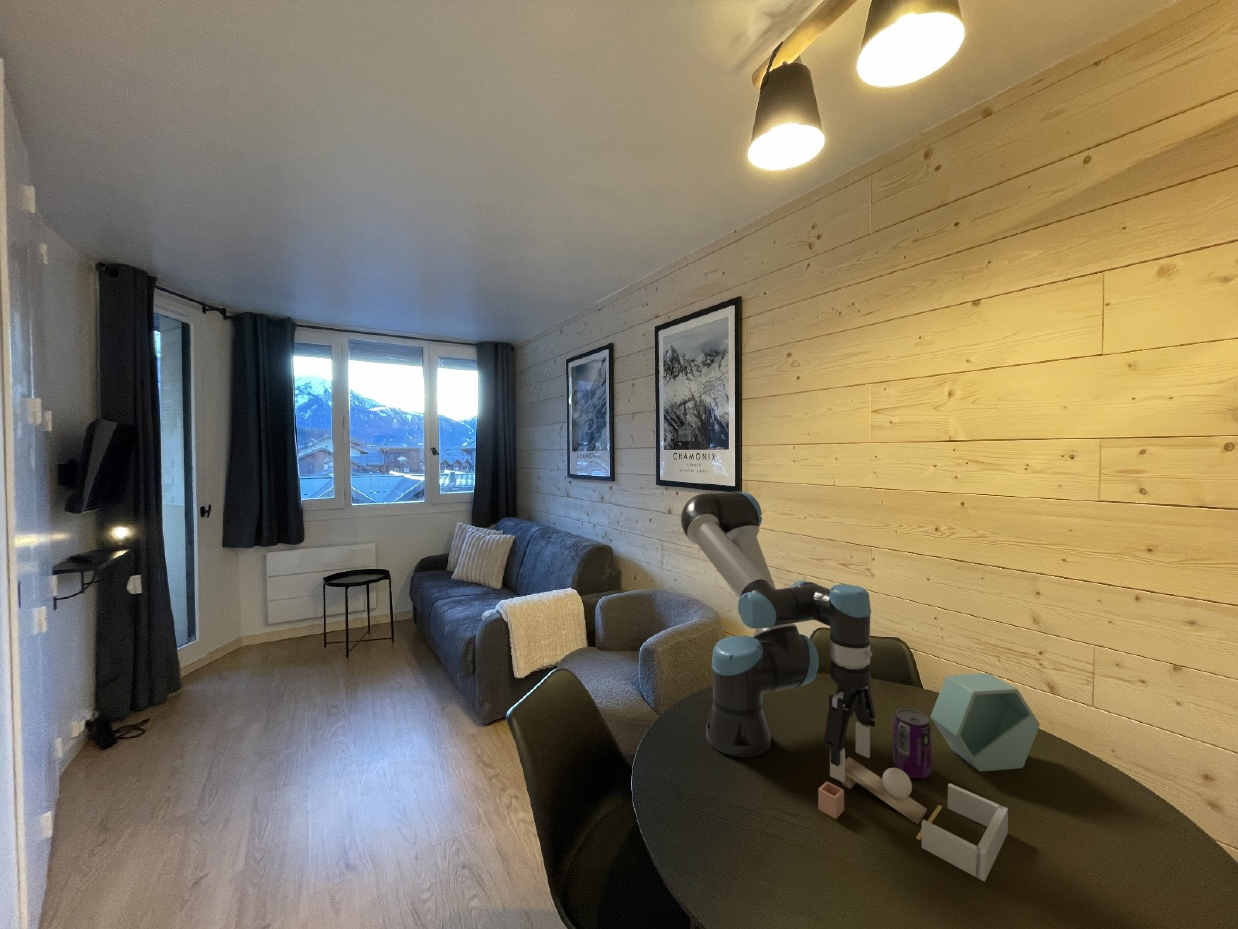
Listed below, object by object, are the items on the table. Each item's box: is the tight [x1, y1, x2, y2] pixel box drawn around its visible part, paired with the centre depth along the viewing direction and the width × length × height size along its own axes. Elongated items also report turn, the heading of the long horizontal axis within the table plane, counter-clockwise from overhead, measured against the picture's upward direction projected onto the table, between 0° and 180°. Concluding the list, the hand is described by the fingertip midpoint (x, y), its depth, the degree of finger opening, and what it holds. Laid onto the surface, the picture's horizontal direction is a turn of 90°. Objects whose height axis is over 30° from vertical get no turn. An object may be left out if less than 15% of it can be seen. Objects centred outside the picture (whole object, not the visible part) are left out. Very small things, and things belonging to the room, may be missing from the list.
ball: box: [881, 767, 913, 798], centre depth 95 cm, size 5×5×5 cm
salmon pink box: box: [817, 780, 845, 820], centre depth 94 cm, size 3×3×4 cm
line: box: [915, 804, 943, 841], centre depth 90 cm, size 1×12×1 cm, turn 130°
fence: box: [921, 783, 1009, 882], centre depth 86 cm, size 9×15×4 cm, turn 130°
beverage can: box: [892, 708, 933, 779], centre depth 105 cm, size 7×7×12 cm
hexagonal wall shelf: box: [929, 672, 1041, 772], centre depth 108 cm, size 17×8×21 cm
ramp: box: [841, 756, 928, 825], centre depth 97 cm, size 15×4×4 cm, turn 40°
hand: (850, 766), depth 101 cm, fingers open, 11 cm apart
